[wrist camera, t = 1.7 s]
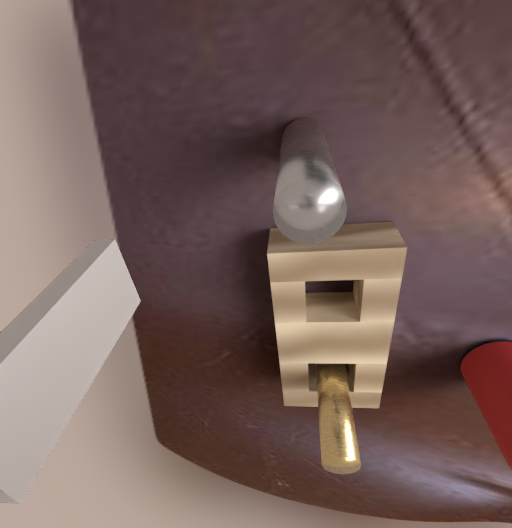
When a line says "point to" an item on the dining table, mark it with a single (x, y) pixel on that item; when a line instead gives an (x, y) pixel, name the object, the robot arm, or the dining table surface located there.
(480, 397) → the beer can
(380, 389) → the pin block
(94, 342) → the robot arm
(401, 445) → the dining table surface
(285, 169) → the steel pin
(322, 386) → the brass pin
